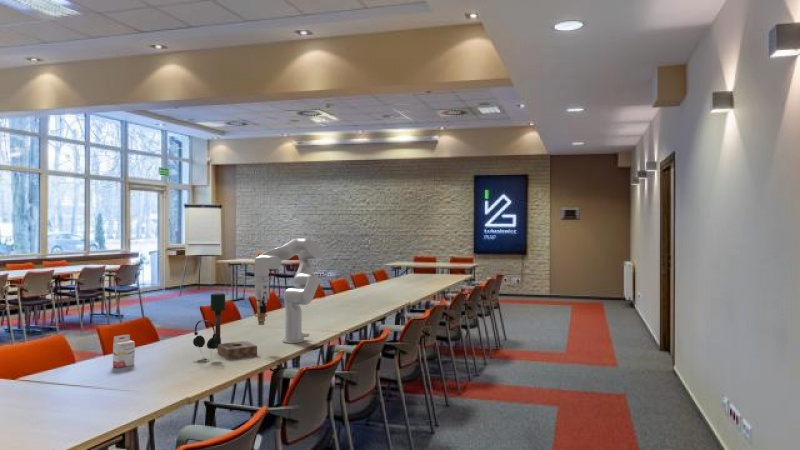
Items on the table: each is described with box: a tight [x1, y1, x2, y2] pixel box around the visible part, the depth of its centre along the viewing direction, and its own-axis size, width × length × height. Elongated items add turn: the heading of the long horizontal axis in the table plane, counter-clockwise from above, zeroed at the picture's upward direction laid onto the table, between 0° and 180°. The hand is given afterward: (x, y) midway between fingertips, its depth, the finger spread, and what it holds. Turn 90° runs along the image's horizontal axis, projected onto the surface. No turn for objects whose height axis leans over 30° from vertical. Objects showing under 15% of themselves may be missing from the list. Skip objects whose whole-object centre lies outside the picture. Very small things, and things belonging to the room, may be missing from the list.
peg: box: [254, 300, 268, 326], centre depth 312 cm, size 6×6×13 cm
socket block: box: [217, 340, 258, 360], centre depth 304 cm, size 16×16×5 cm
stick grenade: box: [209, 292, 227, 349], centre depth 322 cm, size 8×9×30 cm
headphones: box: [192, 319, 219, 364], centre depth 291 cm, size 15×11×20 cm
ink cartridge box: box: [112, 334, 136, 369], centre depth 279 cm, size 9×5×15 cm, turn 145°
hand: (261, 312), depth 312 cm, fingers closed on peg, 4 cm apart
